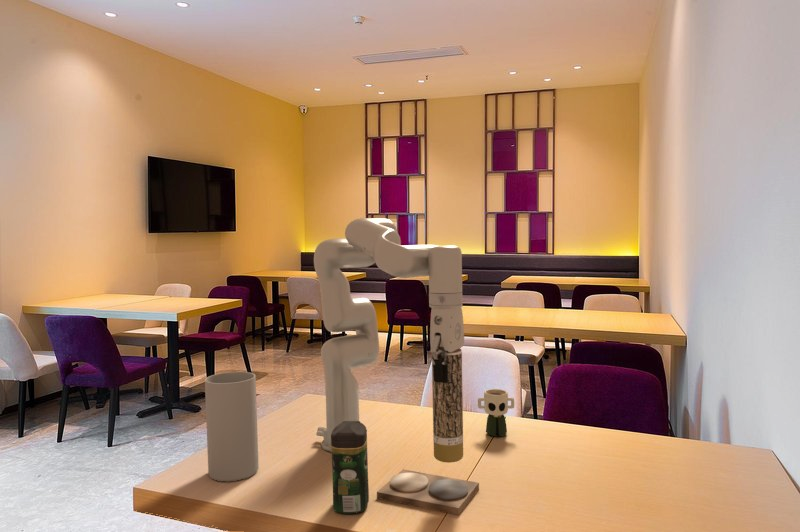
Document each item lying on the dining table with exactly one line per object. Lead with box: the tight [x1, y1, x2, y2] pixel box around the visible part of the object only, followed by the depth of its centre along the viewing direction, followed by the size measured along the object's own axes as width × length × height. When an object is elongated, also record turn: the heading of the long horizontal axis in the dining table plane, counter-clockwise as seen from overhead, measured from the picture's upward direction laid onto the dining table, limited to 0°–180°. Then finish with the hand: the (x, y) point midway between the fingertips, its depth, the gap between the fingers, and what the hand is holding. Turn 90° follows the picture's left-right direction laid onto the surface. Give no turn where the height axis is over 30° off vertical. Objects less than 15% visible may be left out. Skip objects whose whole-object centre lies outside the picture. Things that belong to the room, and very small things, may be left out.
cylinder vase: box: [204, 371, 260, 482], centre depth 149 cm, size 12×12×25 cm
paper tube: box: [431, 348, 464, 463], centre depth 132 cm, size 7×7×25 cm
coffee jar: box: [330, 420, 370, 515], centre depth 129 cm, size 10×8×19 cm
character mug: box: [477, 388, 515, 437], centre depth 174 cm, size 11×7×13 cm, turn 86°
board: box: [376, 468, 480, 516], centre depth 135 cm, size 20×14×2 cm
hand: (447, 377), depth 132 cm, fingers closed on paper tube, 6 cm apart
